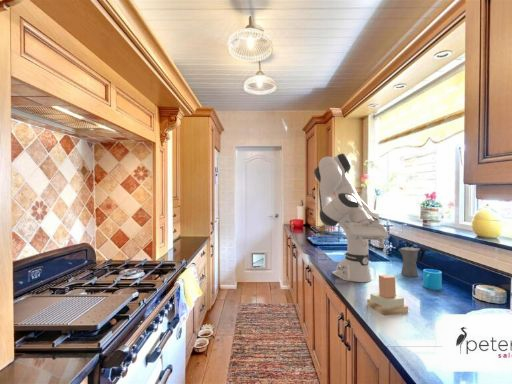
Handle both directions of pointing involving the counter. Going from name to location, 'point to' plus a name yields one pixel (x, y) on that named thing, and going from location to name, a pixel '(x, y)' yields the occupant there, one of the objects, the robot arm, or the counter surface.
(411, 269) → the coffeepot
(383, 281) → the tall block
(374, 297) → the tower top
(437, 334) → the counter surface
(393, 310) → the tower base
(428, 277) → the mug
